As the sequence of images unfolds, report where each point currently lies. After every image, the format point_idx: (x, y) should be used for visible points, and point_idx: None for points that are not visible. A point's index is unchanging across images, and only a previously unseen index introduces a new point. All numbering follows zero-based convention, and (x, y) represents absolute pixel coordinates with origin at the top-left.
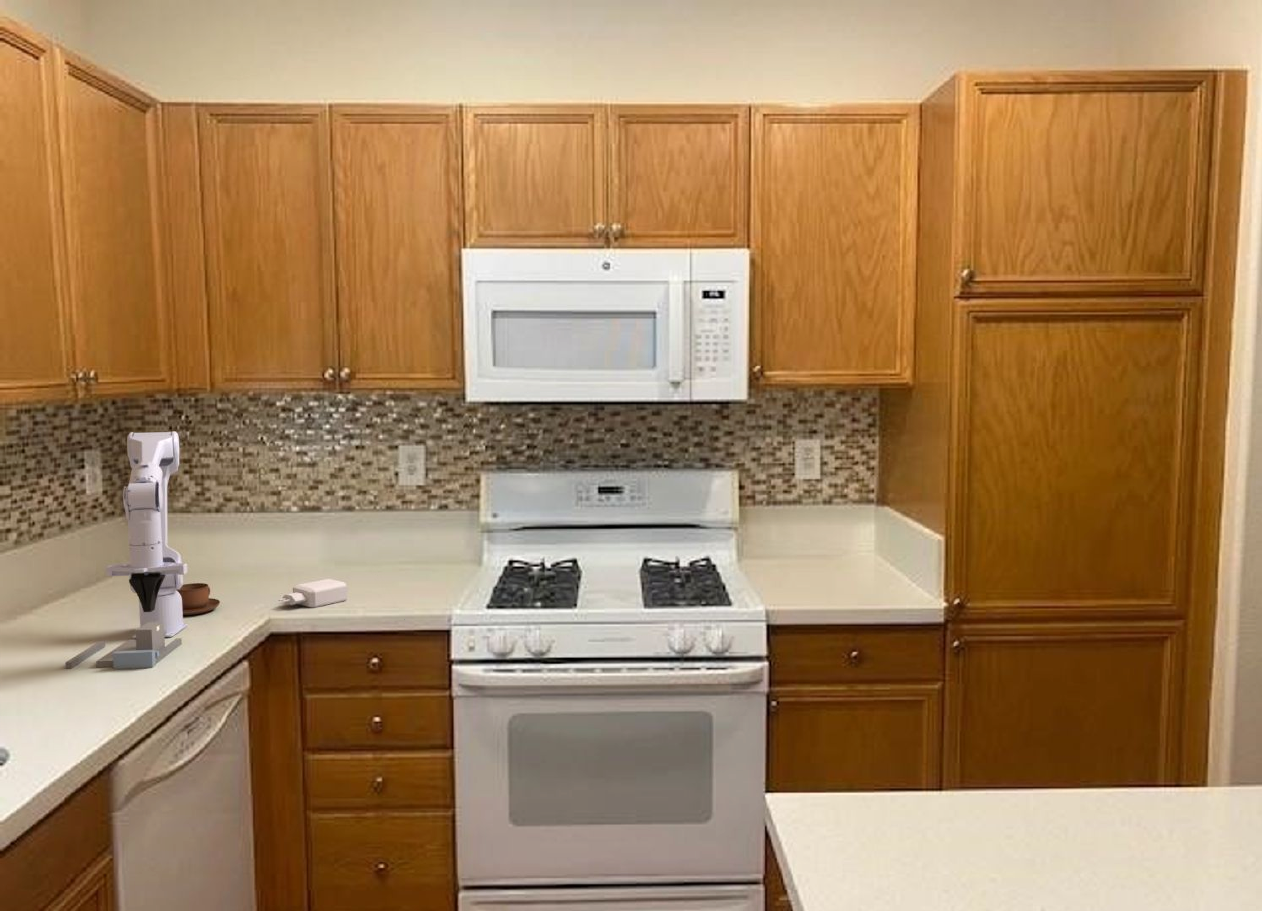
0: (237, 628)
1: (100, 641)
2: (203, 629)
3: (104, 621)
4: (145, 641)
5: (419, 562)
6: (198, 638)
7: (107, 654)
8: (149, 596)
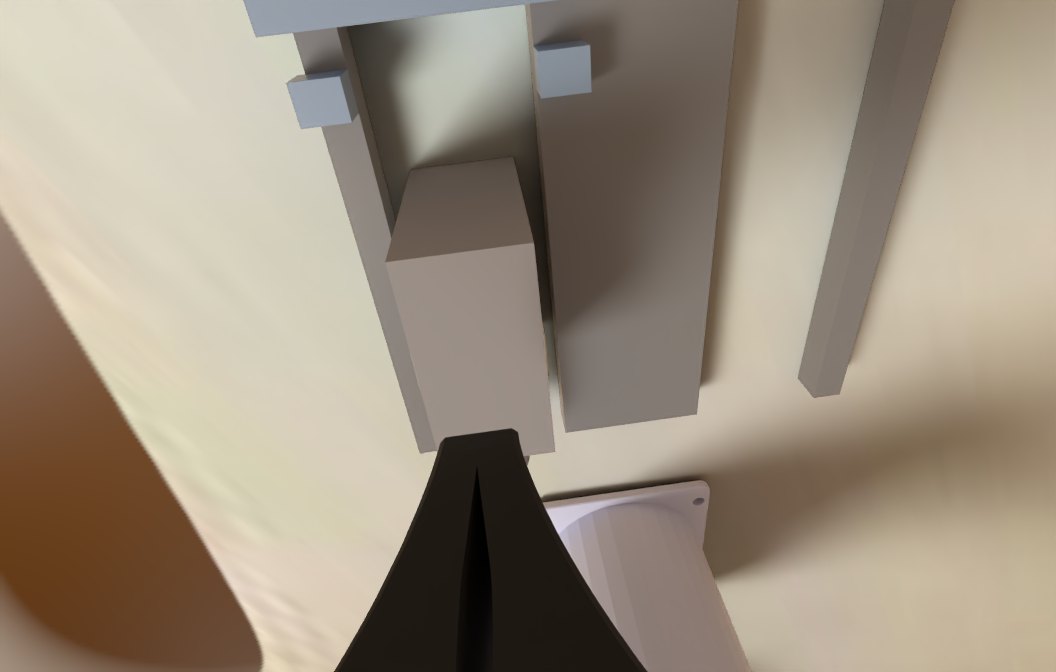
0: (311, 607)
1: (833, 391)
2: None
3: (883, 621)
4: (450, 212)
5: None
6: (394, 501)
7: (714, 153)
8: (404, 593)
